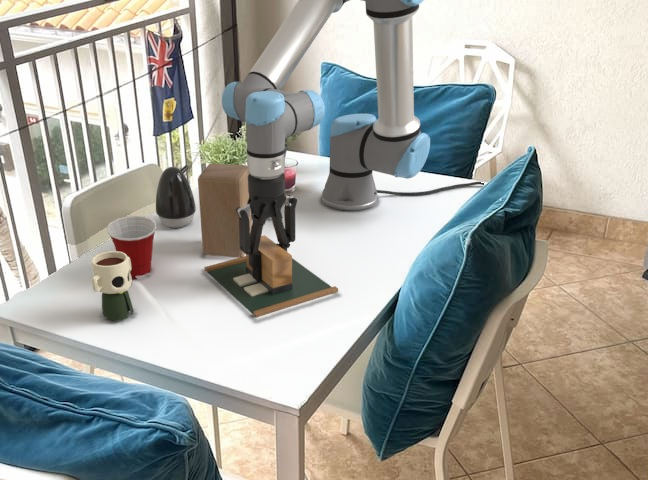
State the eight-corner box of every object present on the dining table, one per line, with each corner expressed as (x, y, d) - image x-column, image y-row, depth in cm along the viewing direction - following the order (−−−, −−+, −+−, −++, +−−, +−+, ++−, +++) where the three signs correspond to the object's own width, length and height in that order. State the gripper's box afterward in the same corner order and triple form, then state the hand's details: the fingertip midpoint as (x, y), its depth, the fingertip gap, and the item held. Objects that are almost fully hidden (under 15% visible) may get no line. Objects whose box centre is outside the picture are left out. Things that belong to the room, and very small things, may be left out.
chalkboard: (280, 253, 167) (280, 246, 166) (338, 295, 149) (338, 288, 148) (204, 273, 158) (204, 266, 157) (256, 321, 141) (256, 313, 140)
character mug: (114, 332, 138) (104, 274, 131) (87, 323, 141) (76, 265, 134) (148, 307, 146) (141, 251, 139) (122, 299, 149) (114, 244, 142)
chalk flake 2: (260, 285, 152) (260, 282, 151) (268, 291, 149) (268, 289, 149) (244, 289, 150) (243, 287, 150) (251, 296, 147) (251, 294, 147)
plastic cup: (119, 289, 153) (112, 239, 146) (109, 268, 161) (101, 220, 155) (167, 279, 156) (162, 230, 150) (154, 259, 165) (149, 212, 158)
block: (243, 261, 163) (240, 179, 153) (202, 257, 165) (196, 176, 154) (252, 243, 172) (250, 164, 161) (213, 240, 173) (208, 161, 162)
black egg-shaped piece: (205, 222, 182) (201, 165, 174) (176, 235, 176) (170, 177, 168) (178, 212, 188) (173, 157, 180) (149, 225, 181) (142, 168, 173)
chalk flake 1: (249, 275, 155) (249, 273, 155) (256, 282, 153) (256, 279, 152) (233, 280, 154) (233, 277, 153) (240, 286, 151) (240, 284, 151)
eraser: (265, 267, 159) (264, 234, 154) (292, 289, 150) (292, 255, 145) (245, 272, 156) (244, 239, 152) (272, 295, 148) (272, 261, 143)
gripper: (235, 188, 133) (240, 294, 146) (314, 170, 141) (312, 272, 154) (217, 176, 139) (223, 279, 151) (294, 160, 146) (294, 259, 159)
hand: (268, 275), depth 152 cm, fingers closed on eraser, 5 cm apart
